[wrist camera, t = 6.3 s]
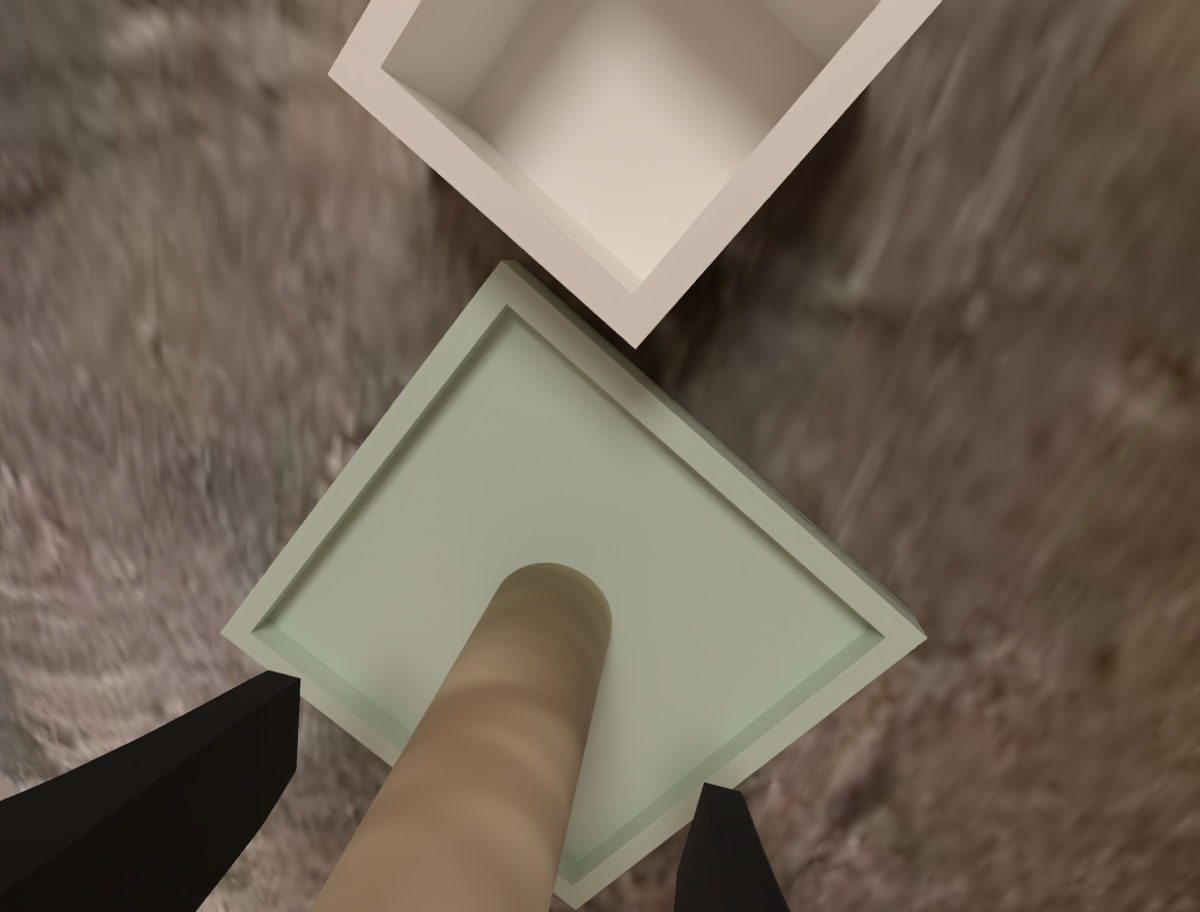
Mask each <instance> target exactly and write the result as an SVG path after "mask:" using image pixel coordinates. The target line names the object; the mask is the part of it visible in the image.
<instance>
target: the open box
mask: <svg viewBox="0 0 1200 912" xmlns="http://www.w3.org/2000/svg"><path fill="white" fill-rule="evenodd" d="M941 1H942V0H371V2H370V3H369V5H368V7H367V8H366V10H365V12H364V13H363V15H362V17H361V19H360V20H359V22H358V24H357V25H356V27H355V29H354V30H353V32H352V34H351V36H350V37H349V39H348V41H347V42H346V44H345V46H344V47H343V49H342V51H341V53H340V54H339V56H338V58H337V59H336V61H335V63H334V64H333V66H332V68H331V70H330V71H329V73H328V76H330V77H331V78H332V79H333V80H334V81H335V82H336V83H337V84H339V85H340V86H341V87H342V88H343V89H344V90H345V91H346V92H347V93H349V94H350V95H351V96H352V97H353V98H354V99H355V100H356V101H358V102H359V103H360V104H361V105H362V106H363V107H364V108H365V109H367V110H368V111H369V112H370V113H371V114H372V115H373V116H374V117H376V118H377V119H378V120H379V121H380V122H381V123H382V124H383V125H384V126H386V127H387V128H388V129H389V130H390V131H391V132H392V133H393V134H395V135H396V136H397V137H398V138H399V139H400V140H401V141H402V142H404V143H405V144H406V145H407V146H408V147H409V148H410V149H411V150H413V151H414V152H415V153H416V154H417V155H418V156H419V157H420V158H422V159H423V160H424V161H425V162H426V163H427V164H428V165H429V166H430V167H432V168H433V169H434V170H435V171H436V172H437V173H438V174H439V175H441V176H442V177H443V178H444V179H445V180H446V181H447V182H448V183H450V184H451V185H452V186H453V187H454V188H455V189H456V190H457V191H459V192H460V193H461V194H462V195H463V196H464V197H465V198H466V199H467V200H469V201H470V202H471V203H472V204H473V205H474V206H475V207H476V208H478V209H479V210H480V211H481V212H482V213H483V214H484V215H485V216H487V217H488V218H489V219H490V220H491V221H492V222H493V223H494V224H496V225H497V226H498V227H499V228H500V229H501V230H502V231H503V232H505V233H506V234H507V235H508V236H509V237H510V238H511V239H512V240H513V241H515V242H516V243H517V244H518V245H519V246H520V247H521V248H522V249H524V250H525V251H526V252H527V253H528V254H529V255H530V256H531V257H533V258H534V259H535V260H536V261H537V262H538V263H539V264H540V265H542V266H543V267H544V268H545V269H546V270H547V271H548V272H549V273H550V274H552V275H553V276H554V277H555V278H556V279H557V280H558V281H559V282H561V283H562V284H563V285H564V286H565V287H566V288H567V289H568V290H570V291H571V292H572V293H573V294H574V295H575V296H576V297H577V298H579V299H580V300H581V301H582V302H583V303H584V304H585V305H586V306H587V307H589V308H590V309H591V310H592V311H593V312H594V313H595V314H596V315H598V316H599V317H600V318H601V319H602V320H603V321H604V322H605V323H607V324H608V325H609V326H610V327H611V328H612V329H613V330H614V331H616V332H617V333H618V334H619V335H620V336H621V337H622V338H623V339H625V340H626V341H627V342H628V343H629V344H630V345H631V346H632V347H633V348H635V349H636V348H637V347H638V346H639V345H640V343H641V342H642V341H643V340H644V339H645V338H646V337H647V335H648V334H649V333H650V332H651V331H652V330H653V329H654V327H655V326H656V325H657V324H658V323H659V322H660V321H661V320H662V318H663V317H664V316H665V315H666V314H667V313H668V312H669V310H670V309H671V308H672V307H673V306H674V305H675V304H676V302H677V301H678V300H679V299H680V298H681V297H682V296H683V295H684V293H685V292H686V291H687V290H688V289H689V288H690V287H691V285H692V284H693V283H694V282H695V281H696V280H697V279H698V277H699V276H700V275H701V274H702V273H703V272H704V271H705V270H706V268H707V267H708V266H709V265H710V264H711V263H712V262H713V260H714V259H715V258H716V257H717V256H718V255H719V254H720V252H721V251H722V250H723V249H724V248H725V247H726V246H727V245H728V243H729V242H730V241H731V240H732V239H733V238H734V237H735V235H736V234H737V233H738V232H739V231H740V230H741V229H742V227H743V226H744V225H745V224H746V223H747V222H748V221H749V220H750V218H751V217H752V216H753V215H754V214H755V213H756V212H757V210H758V209H759V208H760V207H761V206H762V205H763V204H764V202H765V201H766V200H767V199H768V198H769V197H770V196H771V195H772V193H773V192H774V191H775V190H776V189H777V188H778V187H779V185H780V184H781V183H782V182H783V181H784V180H785V179H786V177H787V176H788V175H789V174H790V173H791V172H792V171H793V170H794V168H795V167H796V166H797V165H798V164H799V163H800V162H801V160H802V159H803V158H804V157H805V156H806V155H807V154H808V152H809V151H810V150H811V149H812V148H813V147H814V146H815V145H816V143H817V142H818V141H819V140H820V139H821V138H822V137H823V135H824V134H825V133H826V132H827V131H828V130H829V129H830V127H831V126H832V125H833V124H834V123H835V122H836V121H837V120H838V118H839V117H840V116H841V115H842V114H843V113H844V112H845V110H846V109H847V108H848V107H849V106H850V105H851V104H852V102H853V101H854V100H855V99H856V98H857V97H858V96H859V95H860V93H861V92H862V91H863V90H864V89H865V88H866V87H867V85H868V84H869V83H870V82H871V81H872V80H873V79H874V77H875V76H876V75H877V74H878V73H879V72H880V71H881V70H882V68H883V67H884V66H885V65H886V64H887V63H888V62H889V60H890V59H891V58H892V57H893V56H894V55H895V54H896V52H897V51H898V50H899V49H900V48H901V47H902V46H903V45H904V43H905V42H906V41H907V40H908V39H909V38H910V37H911V35H912V34H913V33H914V32H915V31H916V30H917V29H918V27H919V26H920V25H921V24H922V23H923V22H924V21H925V20H926V18H927V17H928V16H929V15H930V14H931V13H932V12H933V10H934V9H935V8H936V7H937V6H938V5H939V4H940V2H941Z"/></svg>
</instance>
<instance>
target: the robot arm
mask: <svg viewBox="0 0 1200 912" xmlns="http://www.w3.org/2000/svg"><path fill="white" fill-rule="evenodd" d="M300 685H301V678H298V677H294V676H290V675H286V674H283V673H279V672H275V671H271V670H268V671H266V672H264V673H262V674H260V675H258V676H256V677H254V678H252V679H250V680H248V681H246V682H244V683H242V684H240V685H238V686H237V687H235V688H233V689H231V690H229V691H227V692H225V693H224V694H222V695H220V696H218V697H216V698H214V699H212V700H211V701H209V702H207V703H205V704H203V705H201V706H199V707H197V708H196V709H194V710H192V711H190V712H188V713H186V714H184V715H182V716H180V717H178V718H177V719H175V720H173V721H171V722H169V723H167V724H165V725H163V726H161V727H159V728H157V729H155V730H154V731H152V732H150V733H148V734H146V735H144V736H142V737H140V738H138V739H136V740H134V741H132V742H130V743H128V744H125V745H123V746H121V747H119V748H117V749H115V750H113V751H111V752H109V753H107V754H105V755H102V756H100V757H98V758H96V759H94V760H92V761H90V762H88V763H86V764H84V765H82V766H80V767H77V768H75V769H73V770H71V771H69V772H67V773H65V774H62V775H60V776H58V777H56V778H54V779H51V780H49V781H47V782H44V783H42V784H40V785H37V786H35V787H33V788H30V789H28V790H26V791H23V792H21V793H19V794H16V795H14V796H11V797H9V798H6V799H4V800H2V801H0V912H196V911H197V909H198V908H199V907H200V905H201V904H202V903H203V902H204V900H205V899H206V898H207V897H208V895H209V894H210V893H211V891H212V890H213V889H214V888H215V886H216V885H217V884H218V882H219V881H220V880H221V879H222V877H223V876H224V875H225V874H226V872H227V871H228V870H229V868H230V867H231V866H232V864H233V863H234V862H235V861H236V859H237V858H238V857H239V855H240V854H241V853H242V852H243V850H244V849H245V848H246V846H247V845H248V844H249V842H250V841H251V840H252V839H253V837H254V836H255V835H256V833H257V832H258V831H259V829H260V828H261V827H262V825H263V823H264V822H265V820H266V819H267V817H268V816H269V814H270V812H271V811H272V809H273V808H274V806H275V804H276V803H277V801H278V800H279V798H280V796H281V795H282V793H283V791H284V790H285V788H286V786H287V785H288V783H289V781H290V780H291V778H292V776H293V775H294V773H295V771H296V766H297V746H298V726H299V705H300ZM674 912H790V910H789V908H788V906H787V903H786V901H785V899H784V897H783V895H782V892H781V890H780V888H779V886H778V883H777V881H776V879H775V876H774V874H773V871H772V869H771V867H770V864H769V862H768V859H767V857H766V854H765V852H764V849H763V847H762V844H761V842H760V839H759V836H758V834H757V831H756V829H755V826H754V823H753V820H752V818H751V815H750V812H749V809H748V806H747V804H746V801H745V798H744V797H743V795H742V793H741V792H740V791H737V790H733V789H729V788H725V787H721V786H718V785H714V784H710V783H706V782H704V784H703V787H702V791H701V794H700V798H699V801H698V804H697V808H696V811H695V814H694V818H693V821H692V824H691V828H690V831H689V834H688V838H687V841H686V845H685V848H684V851H683V855H682V858H681V861H680V865H679V868H678V871H677V881H676V893H675V905H674Z"/></svg>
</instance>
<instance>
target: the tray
mask: <svg viewBox="0 0 1200 912" xmlns="http://www.w3.org/2000/svg"><path fill="white" fill-rule="evenodd" d="M535 563H555V564H561V565H565V566H568V567H571V568H573V569H575V570H577V571H579V572H581V573H583V574H584V575H586V576H587V577H588V578H590V579H591V580H592V581H593V582H594V583H595V584H596V585H597V586H598V587H599V589H600V590H601V591H602V593H603V594H604V596H605V598H606V600H607V602H608V604H609V607H610V611H611V616H612V629H611V634H610V639H609V643H608V648H607V652H606V657H605V661H604V666H603V670H602V675H601V679H600V684H599V688H598V693H597V697H596V702H595V706H594V711H593V715H592V720H591V724H590V729H589V733H588V737H587V742H586V746H585V751H584V755H583V760H582V764H581V769H580V773H579V778H578V782H577V787H576V791H575V796H574V800H573V805H572V809H571V814H570V818H569V823H568V827H567V832H566V836H565V841H564V845H563V850H562V854H561V859H560V863H559V868H558V872H557V876H556V881H555V885H554V890H553V893H554V894H556V895H557V896H558V897H559V898H561V899H562V900H563V901H565V902H566V903H567V904H568V905H570V906H571V907H572V908H573V909H575V910H576V909H578V908H579V907H580V906H582V905H583V904H584V903H585V902H587V901H588V900H589V899H591V898H592V897H593V896H595V895H596V894H597V893H598V892H600V891H601V890H602V889H604V888H605V887H606V886H607V885H609V884H610V883H611V882H613V881H614V880H615V879H616V878H618V877H619V876H620V875H622V874H623V873H624V872H626V871H627V870H628V869H629V868H631V867H632V866H633V865H635V864H636V863H637V862H638V861H640V860H641V859H642V858H644V857H645V856H646V855H648V854H649V853H650V852H651V851H653V850H654V849H655V848H657V847H658V846H659V845H660V844H662V843H663V842H664V841H666V840H667V839H668V838H669V837H671V836H672V835H673V834H675V833H676V832H677V831H679V830H680V829H681V828H682V827H684V826H685V825H686V824H688V823H689V822H690V821H691V820H693V818H694V814H695V811H696V808H697V804H698V801H699V798H700V794H701V791H702V787H703V784H704V782H706V783H710V784H714V785H718V786H721V787H725V788H729V789H733V788H734V787H735V786H737V785H738V784H739V783H741V782H742V781H743V780H744V779H746V778H747V777H748V776H750V775H751V774H752V773H754V772H755V771H756V770H757V769H759V768H760V767H761V766H763V765H764V764H765V763H766V762H768V761H769V760H770V759H772V758H773V757H774V756H776V755H777V754H778V753H779V752H781V751H782V750H783V749H785V748H786V747H787V746H788V745H790V744H791V743H792V742H794V741H795V740H796V739H797V738H799V737H800V736H801V735H803V734H804V733H805V732H807V731H808V730H809V729H810V728H812V727H813V726H814V725H816V724H817V723H818V722H819V721H821V720H822V719H823V718H825V717H826V716H827V715H829V714H830V713H831V712H832V711H834V710H835V709H836V708H838V707H839V706H840V705H841V704H843V703H844V702H845V701H847V700H848V699H849V698H851V697H852V696H853V695H854V694H856V693H857V692H858V691H860V690H861V689H862V688H863V687H865V686H866V685H867V684H869V683H870V682H871V681H872V680H874V679H875V678H876V677H878V676H879V675H880V674H882V673H883V672H884V671H885V670H887V669H888V668H889V667H891V666H892V665H893V664H894V663H896V662H897V661H898V660H900V659H901V658H902V657H904V656H905V655H906V654H907V653H909V652H910V651H911V650H913V649H914V648H915V647H916V646H918V645H919V644H920V643H922V642H923V641H924V640H925V639H927V636H926V635H925V633H924V631H923V630H922V628H921V627H920V625H919V623H918V622H917V620H916V618H915V617H914V615H913V613H912V612H911V610H910V609H909V608H908V607H907V606H906V605H904V604H903V603H902V602H901V601H900V600H899V599H898V598H897V597H895V596H894V595H893V594H892V593H891V592H890V591H889V590H888V589H886V588H885V587H884V586H883V585H882V584H881V583H880V582H879V581H877V580H876V579H875V578H874V577H873V576H872V575H871V574H870V573H868V572H867V571H866V570H865V569H864V568H863V567H862V566H861V565H859V564H858V563H857V562H856V561H855V560H854V559H853V558H852V557H850V556H849V555H848V554H847V553H846V552H845V551H844V550H843V549H841V548H840V547H839V546H838V545H837V544H836V543H835V542H834V541H832V540H831V539H830V538H829V537H828V536H827V535H826V534H825V533H823V532H822V531H821V530H820V529H819V528H818V527H817V526H816V525H814V524H813V523H812V522H811V521H810V520H809V519H808V518H807V517H805V516H804V515H803V514H802V513H801V512H800V511H799V510H798V509H796V508H795V507H794V506H793V505H792V504H791V503H790V502H789V501H787V500H786V499H785V498H784V497H783V496H782V495H781V494H780V493H778V492H777V491H776V490H775V489H774V488H773V487H772V486H771V485H769V484H768V483H767V482H766V481H765V480H764V479H763V478H762V477H760V476H759V475H758V474H757V473H756V472H755V471H754V470H753V469H751V468H750V467H749V466H748V465H747V464H746V463H745V462H744V461H742V460H741V459H740V458H739V457H738V456H737V455H736V454H735V453H733V452H732V451H731V450H730V449H729V448H728V447H727V446H726V445H724V444H723V443H722V442H721V441H720V440H719V439H718V438H717V437H715V436H714V435H713V434H712V433H711V432H710V431H709V430H708V429H706V428H705V427H704V426H703V425H702V424H701V423H700V422H699V421H697V420H696V419H695V418H694V417H693V416H692V415H691V414H690V413H688V412H687V411H686V410H685V409H684V408H683V407H682V406H681V405H679V404H678V403H677V402H676V401H675V400H674V399H673V398H672V397H670V396H669V395H668V394H667V393H666V392H665V391H664V390H663V389H661V388H660V387H659V386H658V385H657V384H656V383H655V382H654V381H652V380H651V379H650V378H649V377H648V376H647V375H646V374H645V373H643V372H642V371H641V370H640V369H639V368H638V367H637V366H636V365H634V364H633V363H632V362H631V361H630V360H629V359H628V358H627V357H625V356H624V355H623V354H622V353H621V352H620V351H619V350H618V349H616V348H615V347H614V346H613V345H612V344H611V343H610V342H609V341H607V340H606V339H605V338H604V337H603V336H602V335H601V334H600V333H598V332H597V331H596V330H595V329H594V328H593V327H592V326H591V325H589V324H588V323H587V322H586V321H585V320H584V319H583V318H582V317H580V316H579V315H578V314H577V313H576V312H575V311H574V310H573V309H571V308H570V307H569V306H568V305H567V304H566V303H565V302H564V301H562V300H561V299H560V298H559V297H558V296H557V295H556V294H555V293H553V292H552V291H551V290H550V289H549V288H548V287H547V286H546V285H544V284H543V283H542V282H541V281H540V280H539V279H538V278H537V277H535V276H534V275H533V274H532V273H531V272H530V271H529V270H527V269H526V268H525V267H524V266H523V265H522V264H521V263H520V262H518V261H517V260H501V261H500V263H499V264H498V265H497V267H496V268H495V269H494V271H493V272H492V273H491V275H490V276H489V277H488V279H487V280H486V281H485V283H484V284H483V285H482V287H481V288H480V289H479V291H478V292H477V293H476V295H475V296H474V297H473V298H472V300H471V301H470V302H469V304H468V305H467V306H466V308H465V309H464V310H463V312H462V313H461V314H460V316H459V317H458V318H457V320H456V321H455V322H454V324H453V325H452V326H451V328H450V329H449V330H448V332H447V333H446V334H445V336H444V337H443V338H442V340H441V341H440V342H439V344H438V345H437V346H436V347H435V349H434V350H433V351H432V353H431V354H430V355H429V357H428V358H427V359H426V361H425V362H424V363H423V365H422V366H421V367H420V369H419V370H418V371H417V373H416V374H415V375H414V377H413V378H412V379H411V381H410V382H409V383H408V385H407V386H406V387H405V389H404V390H403V391H402V393H401V394H400V395H399V396H398V398H397V399H396V400H395V402H394V403H393V404H392V406H391V407H390V408H389V410H388V411H387V412H386V414H385V415H384V416H383V418H382V419H381V420H380V422H379V423H378V424H377V426H376V427H375V428H374V430H373V431H372V432H371V434H370V435H369V436H368V438H367V439H366V440H365V442H364V443H363V444H362V445H361V447H360V448H359V449H358V451H357V452H356V453H355V455H354V456H353V457H352V459H351V460H350V461H349V463H348V464H347V465H346V467H345V468H344V469H343V471H342V472H341V473H340V475H339V476H338V477H337V479H336V480H335V481H334V483H333V484H332V485H331V487H330V488H329V489H328V491H327V492H326V493H325V494H324V496H323V497H322V498H321V500H320V501H319V502H318V504H317V505H316V506H315V508H314V509H313V510H312V512H311V513H310V514H309V516H308V517H307V518H306V520H305V521H304V522H303V524H302V525H301V526H300V528H299V529H298V530H297V532H296V533H295V534H294V536H293V537H292V538H291V540H290V541H289V542H288V543H287V545H286V546H285V547H284V549H283V550H282V551H281V553H280V554H279V555H278V557H277V558H276V559H275V561H274V562H273V563H272V565H271V566H270V567H269V569H268V570H267V571H266V573H265V574H264V575H263V577H262V578H261V579H260V581H259V582H258V583H257V585H256V586H255V587H254V588H253V590H252V591H251V592H250V594H249V595H248V596H247V598H246V599H245V600H244V602H243V603H242V604H241V606H240V607H239V608H238V610H237V611H236V612H235V614H234V615H233V616H232V618H231V619H230V620H229V622H228V623H227V624H226V626H225V627H224V628H223V630H222V631H221V632H220V633H221V634H222V635H224V636H225V637H226V638H227V639H229V640H230V641H231V642H233V643H234V644H235V645H236V646H238V647H239V648H240V649H242V650H243V651H244V652H245V653H247V654H248V655H249V656H251V657H252V658H253V659H254V660H256V661H257V662H258V663H259V664H261V665H262V666H263V667H265V668H266V669H267V670H271V671H275V672H279V673H283V674H286V675H290V676H294V677H298V678H301V685H300V696H302V697H303V698H304V699H306V700H307V701H308V702H309V703H311V704H312V705H313V706H315V707H316V708H317V709H318V710H320V711H321V712H322V713H324V714H325V715H326V716H327V717H329V718H330V719H331V720H333V721H334V722H335V723H336V724H338V725H339V726H340V727H342V728H343V729H344V730H345V731H347V732H348V733H349V734H350V735H352V736H353V737H354V738H356V739H357V740H358V741H359V742H361V743H362V744H363V745H365V746H366V747H367V748H368V749H370V750H371V751H372V752H374V753H375V754H376V755H377V756H379V757H380V758H381V759H383V760H384V761H385V762H386V763H388V764H389V765H390V766H391V767H394V765H395V763H396V761H397V760H398V758H399V756H400V755H401V753H402V751H403V749H404V748H405V746H406V744H407V743H408V741H409V739H410V737H411V736H412V734H413V732H414V731H415V729H416V727H417V726H418V724H419V722H420V720H421V719H422V717H423V715H424V714H425V712H426V710H427V708H428V707H429V705H430V703H431V702H432V700H433V698H434V697H435V695H436V693H437V691H438V690H439V688H440V686H441V685H442V683H443V681H444V679H445V678H446V676H447V674H448V673H449V671H450V669H451V667H452V666H453V664H454V662H455V661H456V659H457V657H458V656H459V654H460V652H461V650H462V649H463V647H464V645H465V644H466V642H467V640H468V638H469V637H470V635H471V633H472V632H473V630H474V628H475V627H476V625H477V623H478V621H479V620H480V618H481V616H482V615H483V613H484V611H485V609H486V608H487V606H488V604H489V603H490V601H491V599H492V597H493V596H494V594H495V592H496V591H497V589H498V587H499V586H500V584H501V583H502V582H503V580H504V579H505V578H506V577H507V576H509V575H510V574H511V573H513V572H514V571H516V570H518V569H520V568H522V567H524V566H527V565H531V564H535Z"/></svg>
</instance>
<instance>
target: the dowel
mask: <svg viewBox="0 0 1200 912" xmlns="http://www.w3.org/2000/svg"><path fill="white" fill-rule="evenodd" d="M611 629H612V616H611V611H610V607H609V604H608V602H607V600H606V598H605V596H604V594H603V593H602V591H601V590H600V589H599V587H598V586H597V585H596V584H595V583H594V582H593V581H592V580H591V579H590V578H588V577H587V576H586V575H584V574H583V573H581V572H579V571H577V570H575V569H573V568H571V567H568V566H565V565H561V564H555V563H535V564H531V565H527V566H524V567H522V568H520V569H518V570H516V571H514V572H513V573H511V574H510V575H509V576H507V577H506V578H505V579H504V580H503V582H502V583H501V584H500V586H499V587H498V589H497V591H496V592H495V594H494V596H493V597H492V599H491V601H490V603H489V604H488V606H487V608H486V609H485V611H484V613H483V615H482V616H481V618H480V620H479V621H478V623H477V625H476V627H475V628H474V630H473V632H472V633H471V635H470V637H469V638H468V640H467V642H466V644H465V645H464V647H463V649H462V650H461V652H460V654H459V656H458V657H457V659H456V661H455V662H454V664H453V666H452V667H451V669H450V671H449V673H448V674H447V676H446V678H445V679H444V681H443V683H442V685H441V686H440V688H439V690H438V691H437V693H436V695H435V697H434V698H433V700H432V702H431V703H430V705H429V707H428V708H427V710H426V712H425V714H424V715H423V717H422V719H421V720H420V722H419V724H418V726H417V727H416V729H415V731H414V732H413V734H412V736H411V737H410V739H409V741H408V743H407V744H406V746H405V748H404V749H403V751H402V753H401V755H400V756H399V758H398V760H397V761H396V763H395V765H394V767H393V768H392V770H391V772H390V773H389V775H388V777H387V778H386V780H385V782H384V784H383V785H382V787H381V789H380V790H379V792H378V794H377V796H376V797H375V799H374V801H373V802H372V804H371V806H370V807H369V809H368V811H367V813H366V814H365V816H364V818H363V819H362V821H361V823H360V825H359V826H358V828H357V830H356V831H355V833H354V835H353V837H352V838H351V840H350V842H349V843H348V845H347V847H346V848H345V850H344V852H343V854H342V855H341V857H340V859H339V860H338V862H337V864H336V866H335V867H334V869H333V871H332V872H331V874H330V876H329V878H328V879H327V881H326V883H325V884H324V886H323V888H322V889H321V891H320V893H319V895H318V896H317V898H316V900H315V901H314V903H313V905H312V907H311V908H310V910H309V912H549V908H550V903H551V899H552V894H553V890H554V885H555V881H556V876H557V872H558V868H559V863H560V859H561V854H562V850H563V845H564V841H565V836H566V832H567V827H568V823H569V818H570V814H571V809H572V805H573V800H574V796H575V791H576V787H577V782H578V778H579V773H580V769H581V764H582V760H583V755H584V751H585V746H586V742H587V737H588V733H589V729H590V724H591V720H592V715H593V711H594V706H595V702H596V697H597V693H598V688H599V684H600V679H601V675H602V670H603V666H604V661H605V657H606V652H607V648H608V643H609V639H610V634H611Z"/></svg>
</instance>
